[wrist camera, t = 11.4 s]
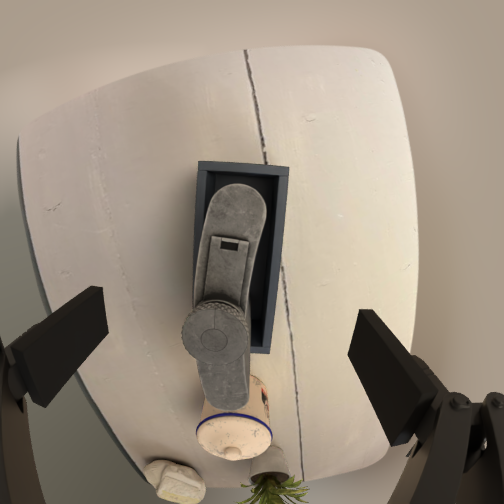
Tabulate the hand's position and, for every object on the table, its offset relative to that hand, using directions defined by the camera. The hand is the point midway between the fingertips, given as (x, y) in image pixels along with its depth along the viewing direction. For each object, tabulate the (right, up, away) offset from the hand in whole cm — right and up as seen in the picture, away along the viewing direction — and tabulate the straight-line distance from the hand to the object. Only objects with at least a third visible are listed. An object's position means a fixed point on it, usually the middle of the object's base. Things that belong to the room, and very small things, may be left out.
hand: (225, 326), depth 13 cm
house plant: (+5, -33, +27) cm, 43 cm away
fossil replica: (-14, -39, +28) cm, 50 cm away
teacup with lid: (-1, -15, +23) cm, 27 cm away
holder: (0, +4, +18) cm, 18 cm away
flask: (0, +4, +17) cm, 18 cm away
